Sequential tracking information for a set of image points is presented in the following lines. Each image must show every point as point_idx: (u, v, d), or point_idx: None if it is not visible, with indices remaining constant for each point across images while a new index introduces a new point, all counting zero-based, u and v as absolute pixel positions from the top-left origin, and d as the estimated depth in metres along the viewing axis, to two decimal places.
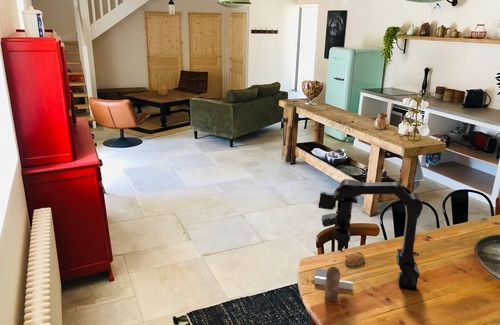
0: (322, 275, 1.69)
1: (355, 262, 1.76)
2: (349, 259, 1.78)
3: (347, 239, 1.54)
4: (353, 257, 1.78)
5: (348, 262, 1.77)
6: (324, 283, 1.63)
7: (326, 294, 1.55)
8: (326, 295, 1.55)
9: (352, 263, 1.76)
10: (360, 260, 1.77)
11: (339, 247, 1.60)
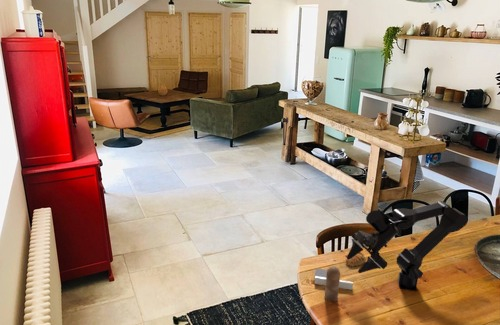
0: (322, 275, 1.69)
1: (356, 262, 1.76)
2: (350, 259, 1.78)
3: (384, 267, 1.46)
4: (353, 257, 1.78)
5: (349, 262, 1.76)
6: (324, 283, 1.63)
7: (326, 294, 1.55)
8: (326, 295, 1.55)
9: (353, 263, 1.76)
10: (361, 260, 1.77)
11: (362, 269, 1.49)
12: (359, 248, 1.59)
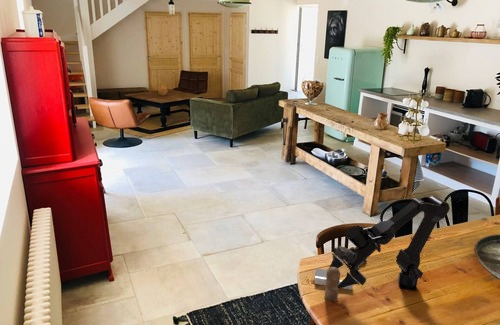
0: (322, 275, 1.69)
1: None
2: None
3: (363, 283, 1.46)
4: None
5: None
6: (324, 283, 1.63)
7: (326, 294, 1.55)
8: (326, 295, 1.55)
9: None
10: None
11: (341, 285, 1.49)
12: (339, 263, 1.59)
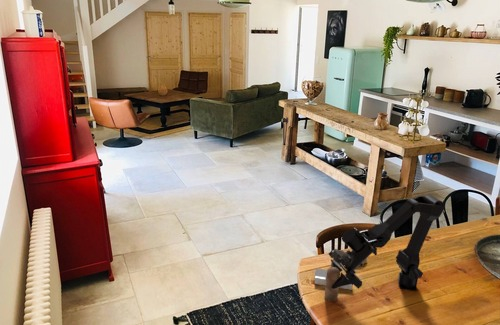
0: (322, 275, 1.69)
1: None
2: None
3: (359, 286, 1.46)
4: None
5: None
6: (324, 283, 1.63)
7: (326, 294, 1.55)
8: (326, 295, 1.55)
9: None
10: None
11: (335, 285, 1.51)
12: None
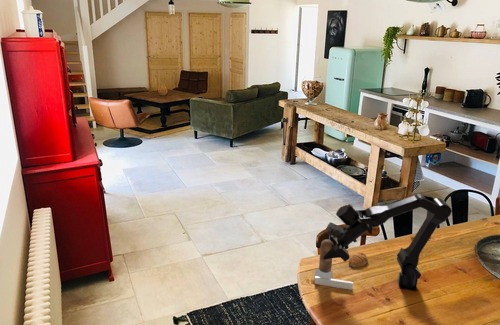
0: (322, 275, 1.69)
1: (359, 263, 1.76)
2: (352, 260, 1.77)
3: (345, 259, 1.52)
4: (356, 258, 1.77)
5: (352, 263, 1.76)
6: (324, 283, 1.63)
7: (319, 264, 1.63)
8: (319, 265, 1.63)
9: (356, 264, 1.75)
10: (363, 261, 1.77)
11: (326, 256, 1.59)
12: (335, 243, 1.64)
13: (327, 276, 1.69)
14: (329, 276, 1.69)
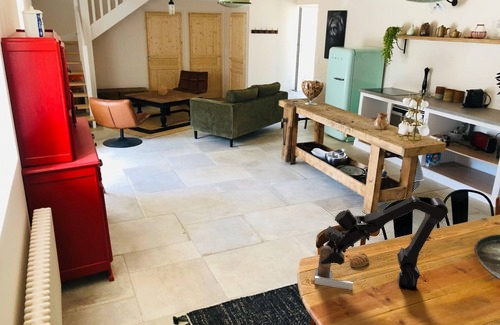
0: None
1: (360, 263, 1.75)
2: (354, 261, 1.77)
3: (340, 263, 1.56)
4: (357, 258, 1.77)
5: (353, 264, 1.75)
6: (324, 283, 1.63)
7: (318, 269, 1.69)
8: (318, 270, 1.69)
9: (357, 264, 1.75)
10: (365, 261, 1.77)
11: (324, 261, 1.62)
12: (334, 244, 1.70)
13: None
14: (329, 276, 1.69)
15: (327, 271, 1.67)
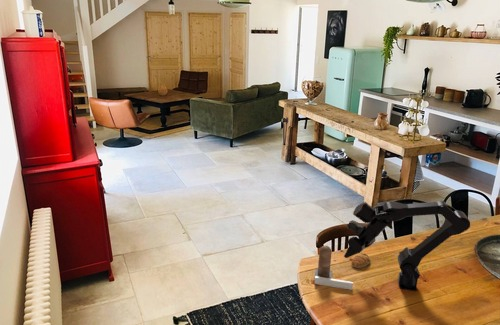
0: None
1: (362, 264, 1.75)
2: (356, 261, 1.76)
3: (358, 250, 1.54)
4: (359, 259, 1.77)
5: (355, 264, 1.75)
6: (324, 283, 1.63)
7: (318, 269, 1.69)
8: (318, 270, 1.69)
9: (359, 265, 1.75)
10: (366, 261, 1.76)
11: (346, 253, 1.60)
12: (364, 243, 1.67)
13: None
14: (329, 276, 1.69)
15: (327, 271, 1.67)
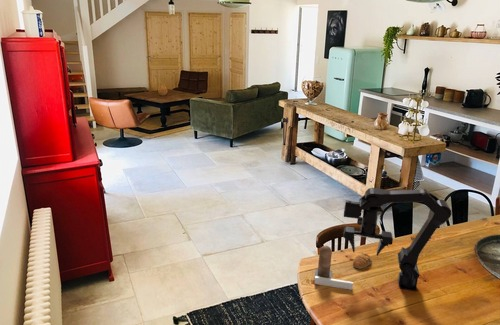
0: None
1: (363, 264, 1.75)
2: (357, 262, 1.76)
3: None
4: (360, 259, 1.76)
5: (357, 265, 1.75)
6: (324, 283, 1.63)
7: (318, 269, 1.69)
8: (318, 270, 1.69)
9: (361, 265, 1.74)
10: (368, 262, 1.76)
11: None
12: (380, 243, 1.60)
13: None
14: (329, 276, 1.69)
15: (327, 271, 1.67)
